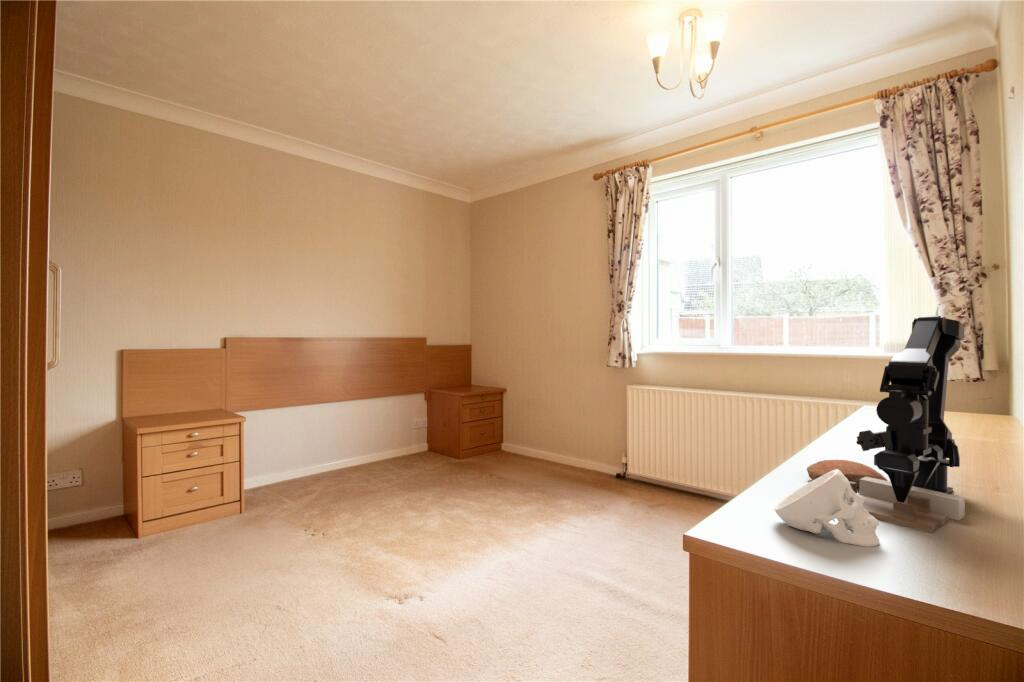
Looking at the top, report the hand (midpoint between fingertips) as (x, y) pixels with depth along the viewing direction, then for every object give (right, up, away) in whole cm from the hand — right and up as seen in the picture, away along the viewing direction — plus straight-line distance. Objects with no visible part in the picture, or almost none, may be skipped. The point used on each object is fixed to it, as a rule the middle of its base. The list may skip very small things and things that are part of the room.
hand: (908, 497), depth 96 cm
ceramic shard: (-2, -2, +17) cm, 18 cm away
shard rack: (-9, -2, -3) cm, 10 cm away
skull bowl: (-26, -2, -13) cm, 29 cm away
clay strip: (0, -2, 0) cm, 2 cm away
